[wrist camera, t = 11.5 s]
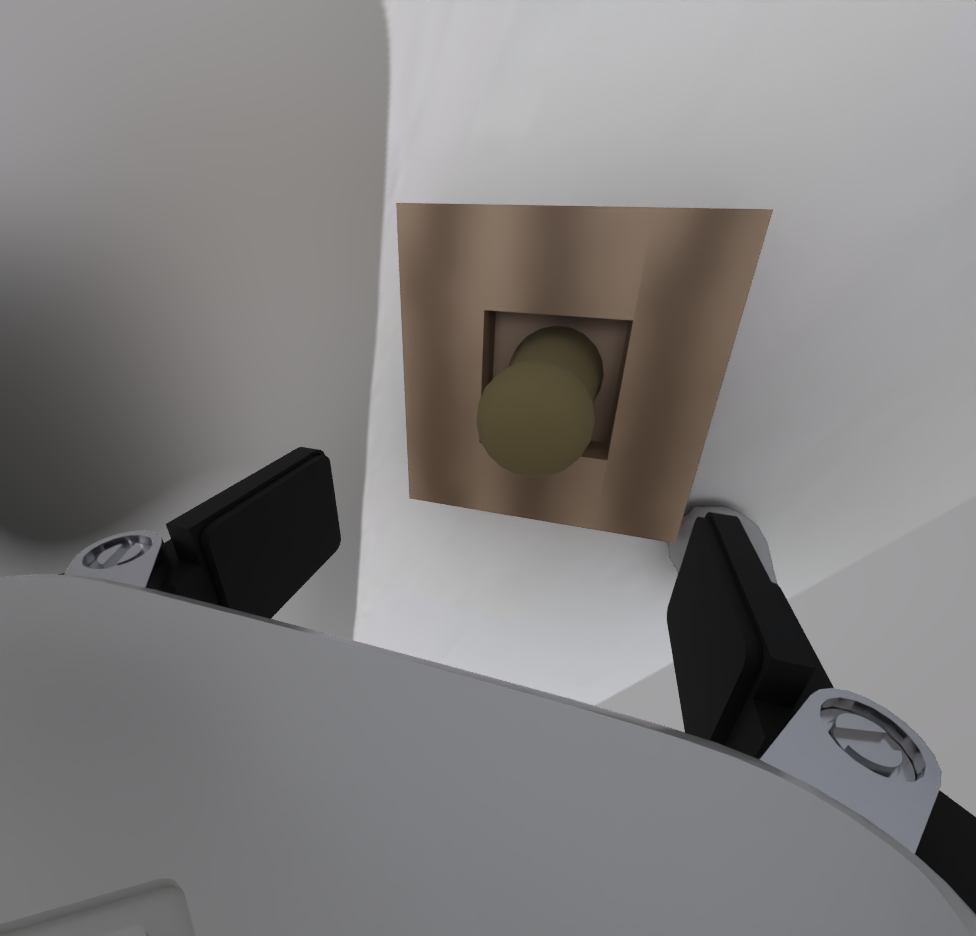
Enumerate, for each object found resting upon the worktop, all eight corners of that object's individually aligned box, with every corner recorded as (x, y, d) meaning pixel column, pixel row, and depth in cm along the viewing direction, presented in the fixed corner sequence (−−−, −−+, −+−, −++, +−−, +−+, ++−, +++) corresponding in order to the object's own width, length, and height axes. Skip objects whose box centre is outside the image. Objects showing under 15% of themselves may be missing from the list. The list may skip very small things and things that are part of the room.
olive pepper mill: (491, 384, 28) (433, 444, 18) (544, 304, 25) (508, 325, 15) (564, 437, 28) (544, 523, 19) (624, 364, 25) (639, 420, 16)
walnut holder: (745, 219, 22) (772, 209, 18) (666, 511, 30) (675, 543, 26) (424, 212, 25) (396, 202, 22) (429, 474, 33) (409, 498, 30)
